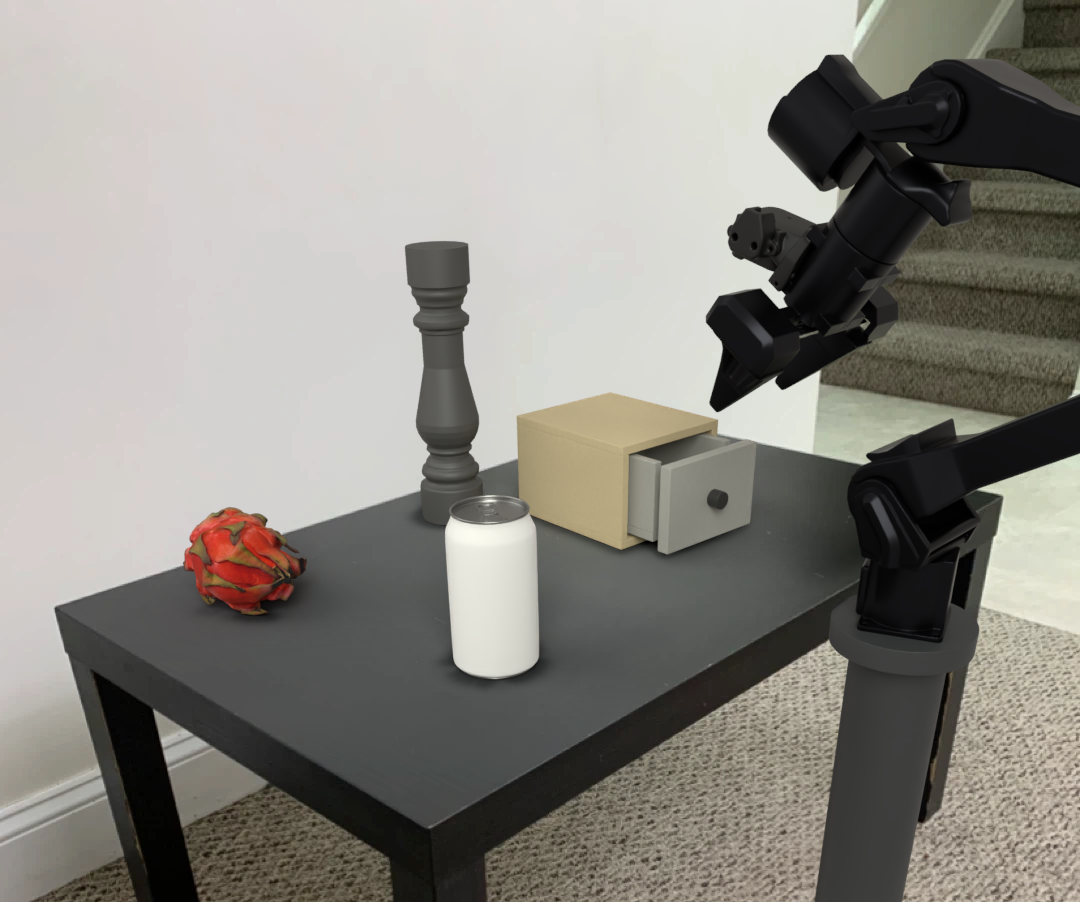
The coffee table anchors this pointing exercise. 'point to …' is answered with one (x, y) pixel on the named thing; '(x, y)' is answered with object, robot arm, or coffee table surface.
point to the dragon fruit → (241, 561)
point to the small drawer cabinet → (593, 459)
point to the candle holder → (444, 376)
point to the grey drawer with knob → (690, 490)
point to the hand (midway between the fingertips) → (747, 396)
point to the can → (493, 586)
